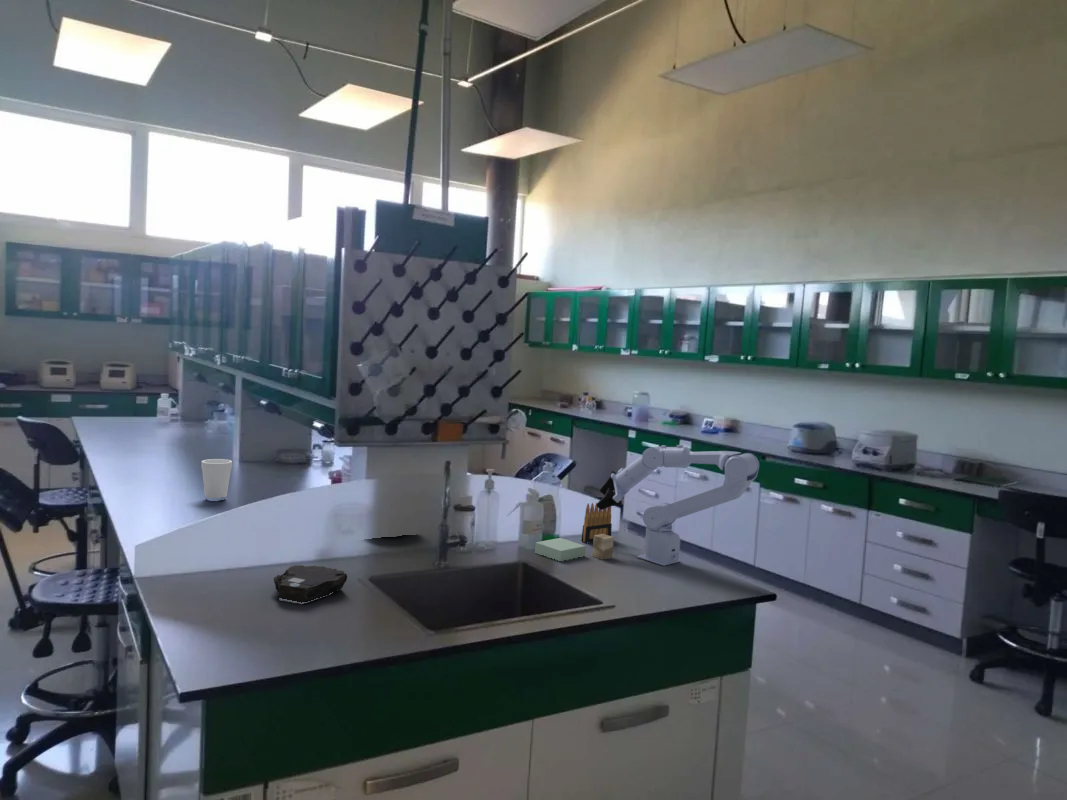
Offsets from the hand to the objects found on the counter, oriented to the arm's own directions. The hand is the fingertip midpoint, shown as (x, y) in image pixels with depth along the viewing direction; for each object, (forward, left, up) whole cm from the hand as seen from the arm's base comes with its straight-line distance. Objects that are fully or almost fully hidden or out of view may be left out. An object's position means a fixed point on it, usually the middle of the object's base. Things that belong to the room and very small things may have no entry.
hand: (600, 499), depth 227 cm
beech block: (-9, +8, -14) cm, 19 cm away
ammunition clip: (+4, -4, -14) cm, 15 cm away
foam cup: (+107, +72, -14) cm, 130 cm away
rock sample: (+7, +89, -14) cm, 91 cm away
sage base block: (-1, +17, -14) cm, 22 cm away
